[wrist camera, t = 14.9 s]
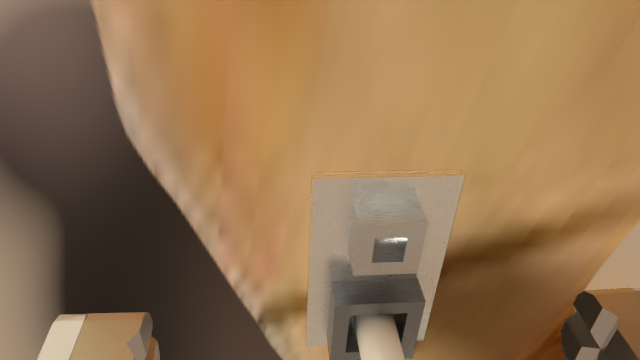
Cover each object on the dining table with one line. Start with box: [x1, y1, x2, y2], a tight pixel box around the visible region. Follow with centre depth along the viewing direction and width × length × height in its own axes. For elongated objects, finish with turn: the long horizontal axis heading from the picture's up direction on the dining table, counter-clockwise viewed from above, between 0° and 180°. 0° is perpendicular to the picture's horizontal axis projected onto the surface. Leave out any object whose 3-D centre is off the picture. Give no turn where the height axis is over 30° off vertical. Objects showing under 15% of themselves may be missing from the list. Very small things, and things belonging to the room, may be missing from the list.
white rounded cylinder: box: [353, 314, 405, 360], centre depth 48 cm, size 4×4×8 cm
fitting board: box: [305, 169, 465, 360], centre depth 48 cm, size 13×22×4 cm, turn 178°
